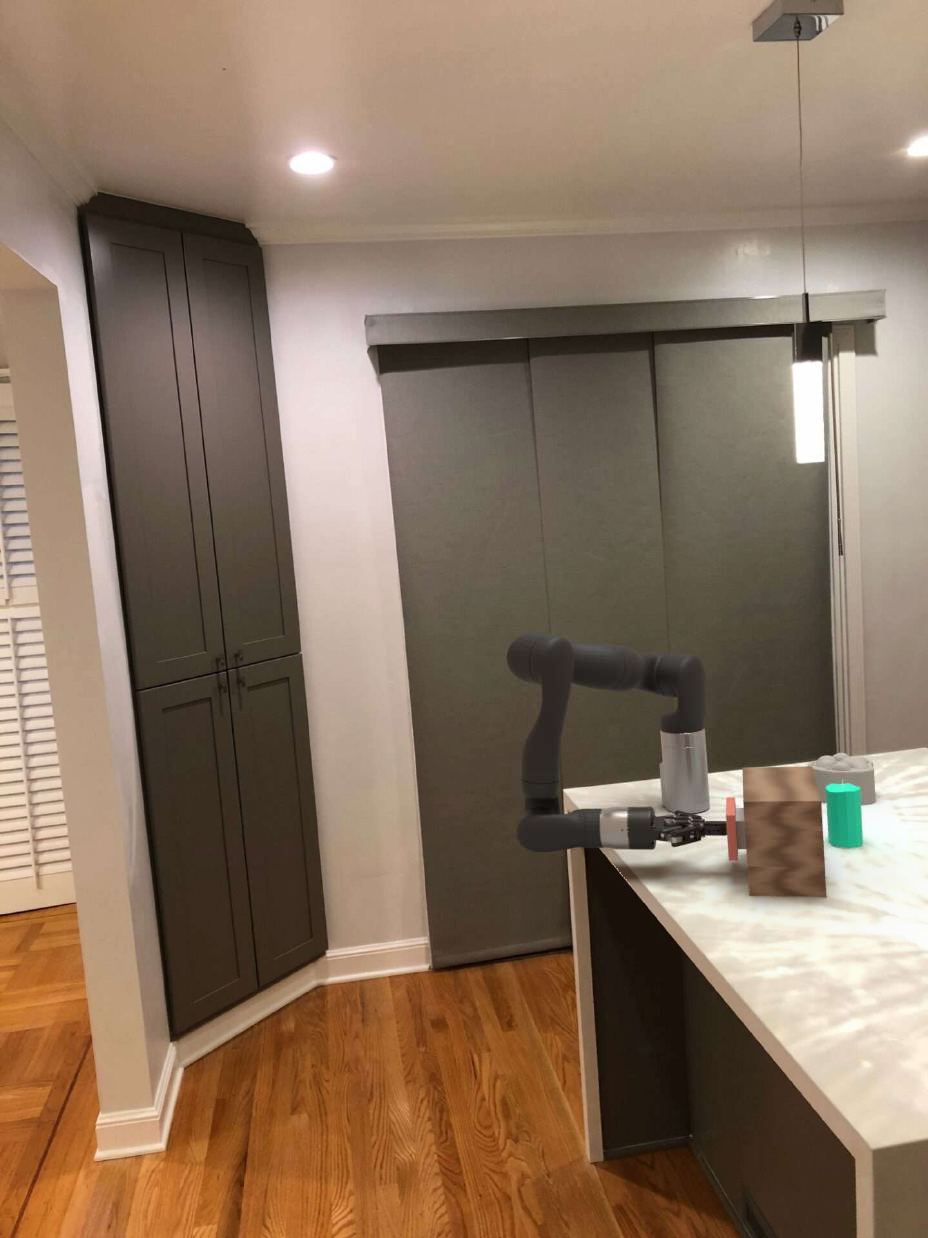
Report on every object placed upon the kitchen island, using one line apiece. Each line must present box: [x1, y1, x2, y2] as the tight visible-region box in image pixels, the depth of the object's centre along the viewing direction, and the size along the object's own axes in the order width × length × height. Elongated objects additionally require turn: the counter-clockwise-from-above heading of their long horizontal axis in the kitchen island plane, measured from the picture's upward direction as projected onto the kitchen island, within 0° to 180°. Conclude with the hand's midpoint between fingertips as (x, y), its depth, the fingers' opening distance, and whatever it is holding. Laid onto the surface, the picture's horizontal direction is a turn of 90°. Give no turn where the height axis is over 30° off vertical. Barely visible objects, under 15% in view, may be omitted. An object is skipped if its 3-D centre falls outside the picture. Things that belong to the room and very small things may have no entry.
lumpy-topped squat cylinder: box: [807, 752, 876, 806], centre depth 203 cm, size 10×13×9 cm
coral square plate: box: [725, 796, 746, 862], centre depth 167 cm, size 10×10×8 cm
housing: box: [742, 765, 827, 898], centre depth 166 cm, size 12×20×16 cm, turn 164°
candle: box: [826, 779, 864, 849], centre depth 177 cm, size 6×6×12 cm
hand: (727, 828), depth 168 cm, fingers closed
